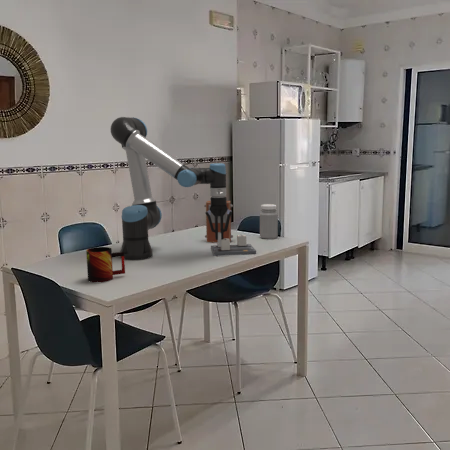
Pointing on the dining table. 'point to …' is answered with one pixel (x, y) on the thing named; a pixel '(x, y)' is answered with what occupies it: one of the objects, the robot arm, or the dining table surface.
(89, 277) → the mug
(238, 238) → the tab back
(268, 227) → the jar
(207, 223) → the orange rectangular box
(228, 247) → the tab front
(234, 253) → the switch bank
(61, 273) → the dining table surface
